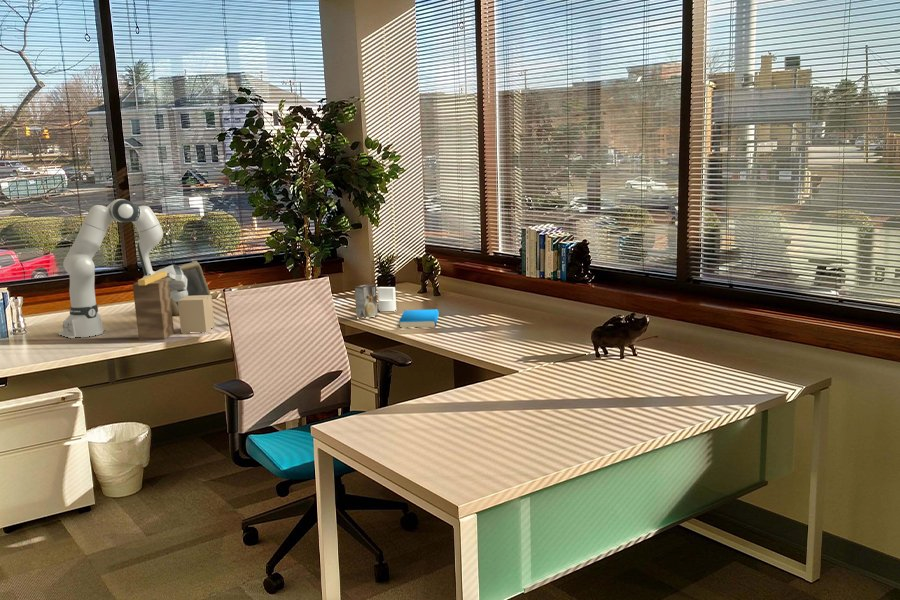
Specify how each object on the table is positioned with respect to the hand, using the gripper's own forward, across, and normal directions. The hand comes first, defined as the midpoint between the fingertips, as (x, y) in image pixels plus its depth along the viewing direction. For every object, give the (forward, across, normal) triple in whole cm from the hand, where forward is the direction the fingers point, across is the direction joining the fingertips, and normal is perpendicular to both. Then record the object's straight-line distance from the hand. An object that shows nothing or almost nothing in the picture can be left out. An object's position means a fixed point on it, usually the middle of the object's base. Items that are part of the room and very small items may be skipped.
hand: (158, 274), depth 397 cm
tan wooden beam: (+5, 0, +5) cm, 7 cm away
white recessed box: (-44, +103, +7) cm, 112 cm away
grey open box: (-61, -9, -3) cm, 61 cm away
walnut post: (-5, 0, +29) cm, 29 cm away
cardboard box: (-14, +16, +24) cm, 32 cm away
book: (-18, +122, +22) cm, 125 cm away
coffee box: (-30, +95, +15) cm, 101 cm away
